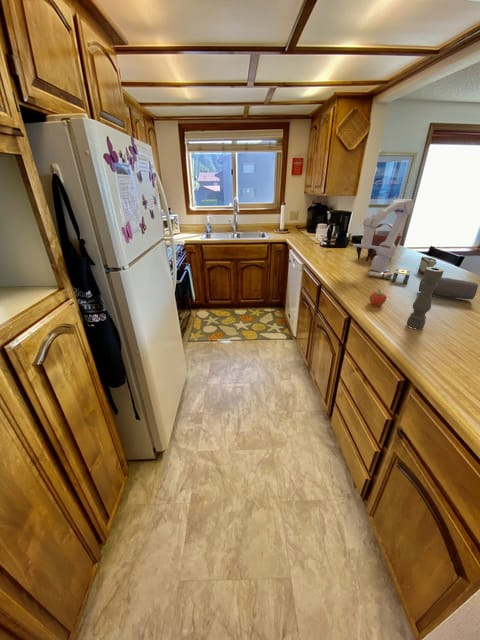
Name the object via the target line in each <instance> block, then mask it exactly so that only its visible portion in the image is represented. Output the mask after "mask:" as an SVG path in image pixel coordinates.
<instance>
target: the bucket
mask: <svg viewBox="0 0 480 640" xmlns="http://www.w3.org/2000/svg"><path fill="white" fill-rule="evenodd" d="M383 225H387V226H388V227H390V229H391V228H392V226H393V224H392V223H388V222H387V223H385V222H382V223H379V224H378V226H377V227H375V231H374V235H373V240H372V244H371V245H373V246H380V244H381V243H382V242H384V241H386V239H387V236H388V234H389V232H390V230H378V229H379V228H381V227H382V226H383ZM402 236H403V232H399V234H398V236H397V238H396V240H395V242H394V245H395V246H396V248H398V247H397V246H398V245H399V243H400V241H401V239H402ZM389 248H390V247H389ZM368 250H369V249H367V251H368ZM375 256H377V254H376V250H373V252H372V253H371V255H370V256H369V259H370V260H373V258H374V257H375ZM392 257H393V256H392ZM392 257H391V258H390V260H392Z"/></svg>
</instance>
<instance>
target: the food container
mask: <svg viewBox="0 0 480 640" xmlns="http://www.w3.org/2000/svg"><path fill="white" fill-rule="evenodd" d="M436 265H437V260H436V259H435V258H432V257H428V256H427V257H426V256H421V259H420V263H419V266H418V271H417V273H418V274H419V275H420V274H421V275H420V276H421V277H423V276H424V273H425V270H426V268H427V267H435V266H436Z"/></svg>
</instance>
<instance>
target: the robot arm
mask: <svg viewBox="0 0 480 640" xmlns="http://www.w3.org/2000/svg"><path fill="white" fill-rule="evenodd" d="M413 207H414V201H413V199H412V198H410V199H409V198H408V199H407V198H395V199H394V200H393V201H392V202H391V204H389V205H388V206H387V207H386V208H384V209H379V210H378V211H376V212H375V213H374V214H372V215H370V216H367V217H366V218H365V219H364V220H363V223H362V225H363V234H362V238H361V244H360V243H353V245H352V248H354V249H355V248H356V249H355V250H356V253H357V260H358V261H360V259H361V253H362V249H363V250H364V249H365V250H366V249H367V257H366V259H365V261H366V262H368V261H369V259H370V258H369V256H370V255H371V253H372V252H373V250H376V254H377V256H375V257H374V258H373V259H372V261H371V266H370V267H369V269H370V270H373V271H374V272H379V273H385V272H391V271H390V269H388V267H389V264H390V261H391V259H392V258H391V257H394V256H395V254H396V253H395V252H396V249H397V247H396V246H395V245H394V242H395V240H396V238H397V236H398V234H399V233H401V230H402V228H403V226H404V224H405V222H406V220H407V218H408V216H409V215H410V213H411V211H412V209H413ZM393 212H394V214H395V215H396V218H395V221H394V223H393V224H392V225H393V226H392V228H390V230H389V231H390V232H389V234H388V236H387V239H386V241H384V242H382V243H381V244H380V246H373V245H371V244H372V240H373V235H374V231H375V227H377V226H378V225H379V224H381V222H382V221H384V220H386V218H387V217H388V215H390V214H391V213H393ZM389 247H390V248H389ZM368 249H369V250H368ZM390 258H391V259H390Z"/></svg>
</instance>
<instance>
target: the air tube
mask: <svg viewBox="0 0 480 640" xmlns="http://www.w3.org/2000/svg"><path fill="white" fill-rule="evenodd" d="M367 276H368V277H373V278H374V277H375V278H380V279H386V280H392V278H393V274H391V273H385V272H378V271H370V270H369V271H368V273H367Z"/></svg>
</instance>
